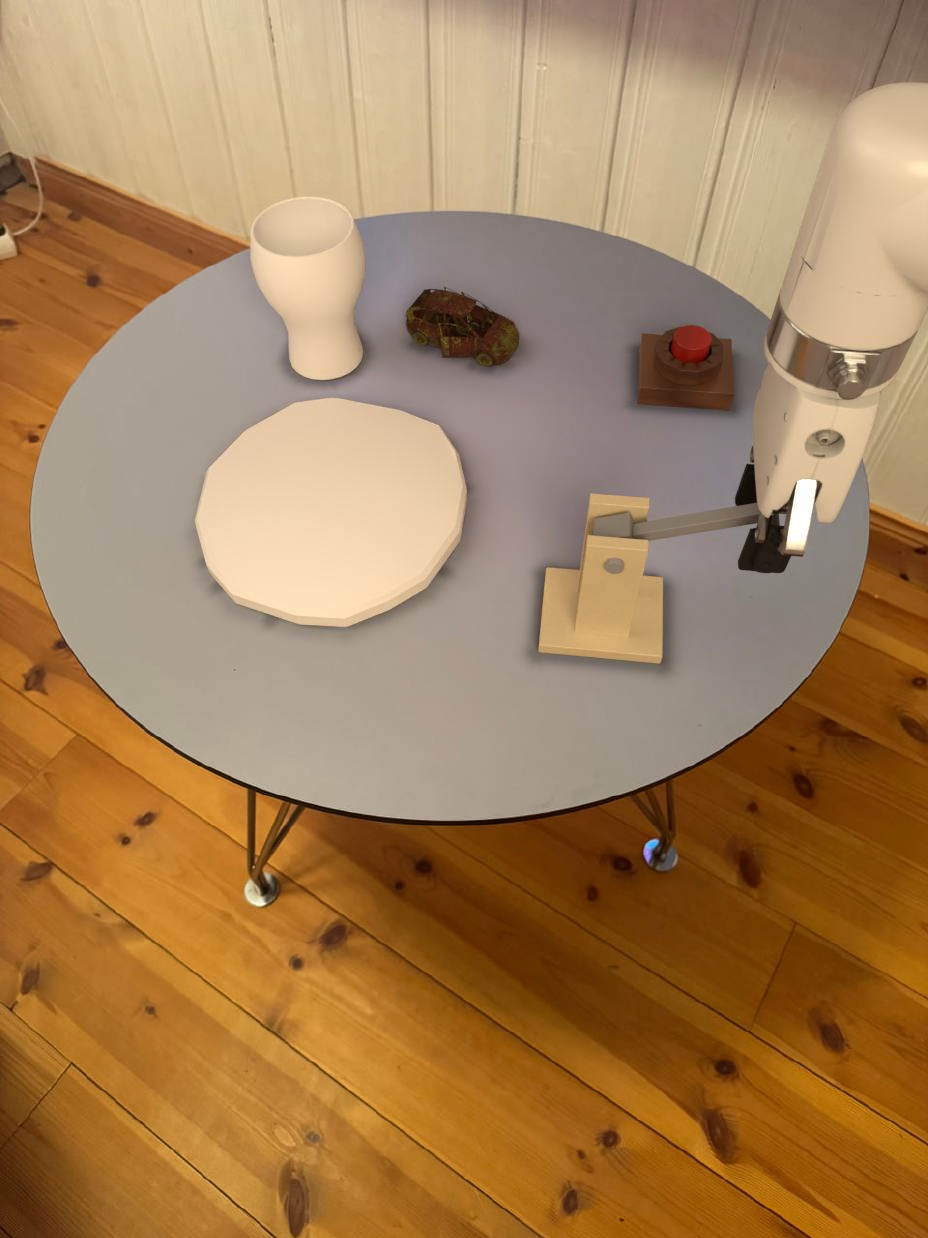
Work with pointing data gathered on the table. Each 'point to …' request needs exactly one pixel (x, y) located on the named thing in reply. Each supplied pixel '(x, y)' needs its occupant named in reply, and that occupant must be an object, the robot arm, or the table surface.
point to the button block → (685, 375)
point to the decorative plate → (331, 511)
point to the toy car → (461, 327)
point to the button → (691, 344)
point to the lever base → (605, 594)
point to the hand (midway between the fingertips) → (758, 534)
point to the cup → (312, 280)
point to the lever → (678, 523)
